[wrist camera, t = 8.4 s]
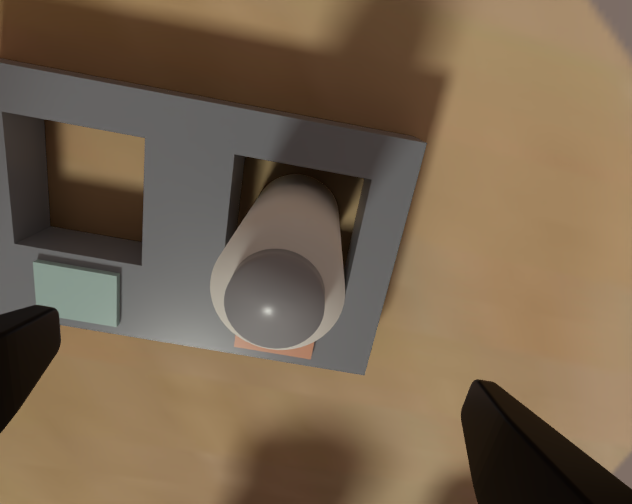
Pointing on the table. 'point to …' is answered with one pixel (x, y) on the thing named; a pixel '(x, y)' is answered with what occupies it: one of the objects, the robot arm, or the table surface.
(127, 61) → the table surface
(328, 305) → the bottle
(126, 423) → the table surface
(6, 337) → the robot arm
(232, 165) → the socket panel
